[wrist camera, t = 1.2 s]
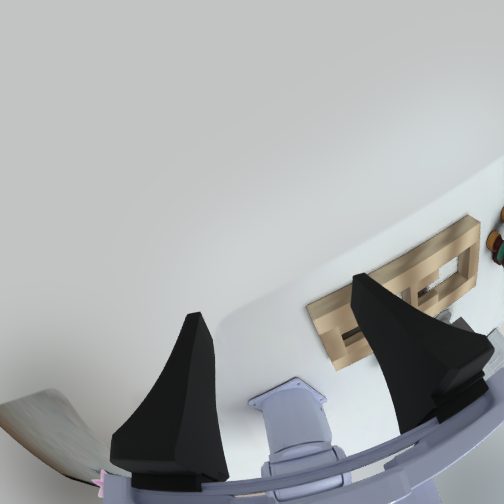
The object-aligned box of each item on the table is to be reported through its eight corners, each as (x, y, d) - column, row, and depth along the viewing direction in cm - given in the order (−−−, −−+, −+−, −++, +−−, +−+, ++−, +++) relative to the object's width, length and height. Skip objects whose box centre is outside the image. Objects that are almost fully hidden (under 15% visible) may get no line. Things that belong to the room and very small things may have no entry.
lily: (136, 478, 57) (135, 497, 48) (116, 488, 55) (114, 506, 46) (108, 458, 56) (103, 477, 46) (89, 469, 53) (83, 486, 44)
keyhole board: (468, 214, 24) (480, 222, 22) (466, 276, 28) (475, 285, 26) (306, 306, 26) (312, 320, 24) (330, 358, 31) (336, 371, 29)
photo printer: (465, 362, 42) (491, 400, 31) (465, 355, 40) (493, 395, 29) (495, 333, 40) (523, 368, 29) (497, 325, 38) (527, 360, 27)
